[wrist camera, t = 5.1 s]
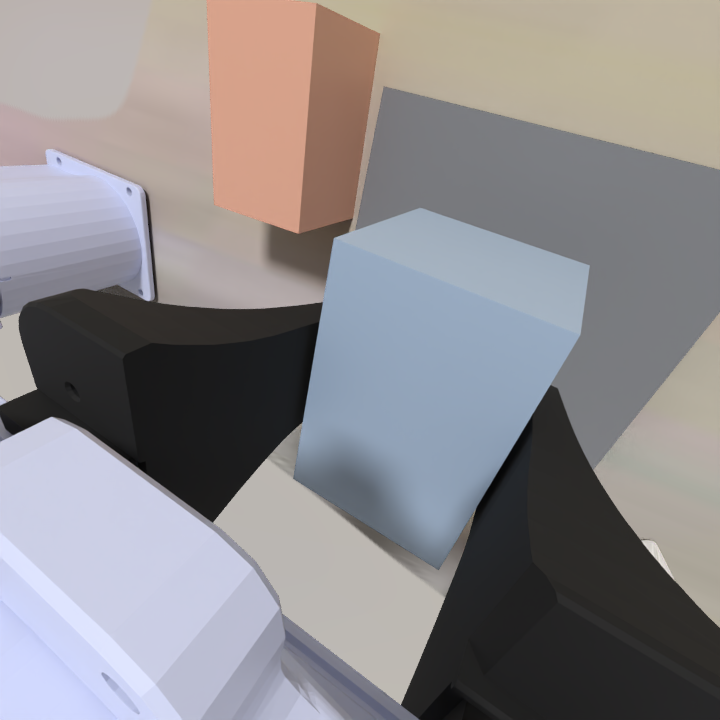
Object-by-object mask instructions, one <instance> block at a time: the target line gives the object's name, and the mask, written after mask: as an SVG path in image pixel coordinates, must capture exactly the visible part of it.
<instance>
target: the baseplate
mask: <svg viewBox="0 0 720 720" xmlns="http://www.w3.org/2000/svg"><path fill="white" fill-rule="evenodd" d="M418 208H423V209H426V210H428V211H431V212H434V213H437V214H440V215H443V216H446V217H449V218H452V219H455V220H458V221H461V222H464V223H467V224H470V225H472V226H475V227H478V228H481V229H484V230H487V231H490V232H493V233H496V234H499V235H502V236H505V237H508V238H511V239H514V240H516V241H519V242H522V243H525V244H528V245H531V246H534V247H537V248H540V249H543V250H546V251H549V252H552V253H555V254H558V255H561V256H563V257H566V258H569V259H572V260H575V261H578V262H581V263H584V264H587V265H590V267H589V275H588V282H587V290H586V297H585V305H584V312H583V320H582V327H581V334H580V336H579V338H578V340H577V341H576V343H575V345H574V346H573V348H572V350H571V351H570V353H569V355H568V356H567V358H566V360H565V361H564V363H563V365H562V366H561V368H560V370H559V371H558V373H557V375H556V376H555V378H554V380H553V381H552V383H551V385H552V386H554V387H556V388H558V390H559V393H560V396H561V398H562V401H563V404H564V407H565V409H566V412H567V415H568V418H569V420H570V423H571V425H572V428H573V430H574V433H575V435H576V437H577V439H578V442H579V444H580V446H581V448H582V450H583V452H584V454H585V456H586V458H587V460H588V462H589V464H590V465H591V467H592V469H594V468H595V467H596V466H597V464H598V463H599V462H600V461H601V459H602V458H603V457H604V456H605V454H606V453H607V452H608V451H609V449H610V448H611V447H612V446H613V444H614V443H615V442H616V441H617V439H618V438H619V437H620V436H621V435H622V433H623V432H624V431H625V430H626V428H627V427H628V426H629V425H630V423H631V422H632V421H633V420H634V418H635V417H636V416H637V415H638V413H639V412H640V411H641V410H642V408H643V407H644V406H645V405H646V403H647V402H648V401H649V400H650V398H651V397H652V396H653V395H654V393H655V392H656V391H657V390H658V388H659V387H660V386H661V385H662V383H663V382H664V381H665V380H666V378H667V377H668V376H669V375H670V373H671V372H672V371H673V370H674V368H675V367H676V366H677V365H678V363H679V362H680V361H681V360H682V358H683V357H684V356H685V355H686V353H687V352H688V351H689V350H690V348H691V347H692V346H693V345H694V344H695V342H696V341H697V340H698V339H699V337H700V336H701V335H702V334H703V332H704V331H705V330H706V329H707V327H708V326H709V325H710V324H711V322H712V321H713V320H714V319H715V317H716V316H717V315H718V314H719V312H720V170H718V169H714V168H710V167H706V166H702V165H698V164H694V163H690V162H686V161H682V160H678V159H674V158H670V157H666V156H662V155H658V154H654V153H650V152H646V151H642V150H637V149H633V148H629V147H625V146H621V145H617V144H613V143H609V142H605V141H601V140H597V139H593V138H589V137H585V136H581V135H577V134H573V133H569V132H565V131H561V130H557V129H553V128H549V127H545V126H541V125H537V124H533V123H529V122H525V121H521V120H517V119H513V118H509V117H505V116H501V115H497V114H493V113H489V112H485V111H480V110H476V109H472V108H468V107H464V106H460V105H456V104H452V103H448V102H444V101H440V100H436V99H432V98H428V97H424V96H420V95H416V94H412V93H408V92H404V91H400V90H396V89H392V88H388V87H384V88H383V93H382V98H381V103H380V109H379V114H378V119H377V124H376V129H375V134H374V139H373V144H372V149H371V154H370V159H369V164H368V169H367V174H366V179H365V184H364V189H363V195H362V200H361V205H360V210H359V215H358V220H357V225H356V230H358V229H361V228H364V227H367V226H370V225H372V224H375V223H378V222H381V221H384V220H387V219H390V218H392V217H395V216H398V215H401V214H404V213H407V212H410V211H412V210H415V209H418Z"/></svg>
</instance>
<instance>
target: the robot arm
mask: <svg viewBox="0 0 720 720" xmlns="http://www.w3.org/2000/svg"><path fill="white" fill-rule="evenodd" d="M46 159H47V163H48V165H23V166H0V318H2V317H6V316H9V315H13V314H16V313H20V312H21V313H20V316H19V331H20V336H21V340H22V343H23V347H24V350H25V353H26V356H27V359H28V362H29V365H30V368H31V371H32V375H33V377H34V381H35V384H36V387H37V390H34V391H32V392H30V393H27V394H25V395H23V396H20V397H18V398H16V399H13V400H12V401H9V402H7V401H6V400H5V399H3V398H2V397H1V396H0V720H720V628H719V627H718V626H717V625H716V624H715V623H714V622H713V621H712V620H711V619H710V618H709V617H708V616H707V615H706V614H705V613H704V612H703V611H702V610H701V609H700V608H699V607H698V606H697V605H696V604H695V602H694V601H693V600H692V599H691V598H690V597H689V596H688V595H687V594H686V593H685V591H684V590H683V589H682V588H681V587H680V586H679V585H678V584H677V583H676V582H675V581H674V579H673V578H672V577H671V576H670V575H669V574H668V573H667V572H666V570H665V569H664V568H663V567H662V566H661V565H660V563H659V562H658V561H657V560H656V559H655V557H654V556H653V555H652V554H651V553H650V552H649V550H648V549H647V548H646V546H645V545H644V544H643V543H642V541H641V540H640V539H639V537H638V536H637V535H636V534H635V532H634V531H633V530H632V528H631V527H630V526H629V525H628V523H627V522H626V521H625V519H624V518H623V516H622V515H621V514H620V512H619V511H618V509H617V508H616V506H615V505H614V503H613V502H612V500H611V499H610V497H609V496H608V494H607V493H606V491H605V489H604V488H603V486H602V485H601V483H600V481H599V480H598V478H597V476H596V475H595V473H594V471H593V469H592V467H591V465H590V464H589V462H588V460H587V458H586V456H585V454H584V452H583V450H582V448H581V446H580V444H579V442H578V439H577V437H576V435H575V433H574V430H573V428H572V425H571V423H570V420H569V418H568V415H567V412H566V409H565V407H564V404H563V401H562V398H561V396H560V393H559V390H558V388H556V387H554V386H552V385H550V386H549V388H548V390H547V391H546V393H545V395H544V396H543V398H542V400H541V401H540V403H539V404H538V406H537V408H536V409H535V411H534V413H533V414H532V416H531V418H530V419H529V421H528V423H527V424H526V426H525V428H524V429H523V431H522V433H521V434H520V436H519V438H518V439H517V441H516V443H515V444H514V446H513V448H512V449H511V451H510V453H509V454H508V456H507V458H506V459H505V461H504V463H503V464H502V466H501V468H500V469H499V471H498V472H497V474H496V476H495V477H494V479H493V481H492V482H491V484H490V486H489V487H488V489H487V491H486V492H485V494H484V496H483V497H482V499H481V501H480V502H479V504H478V506H477V508H476V512H475V515H474V519H473V523H472V526H471V530H470V534H469V537H468V540H467V543H466V546H465V549H464V552H463V555H462V557H461V560H460V562H459V565H458V567H457V570H456V573H455V575H454V578H453V580H452V583H451V585H450V588H449V590H448V593H447V595H446V598H445V600H444V603H443V605H442V608H441V610H440V613H439V615H438V617H437V620H436V622H435V625H434V627H433V630H432V632H431V634H430V637H429V639H428V642H427V644H426V647H425V649H424V652H423V654H422V656H421V659H420V661H419V664H418V666H417V668H416V671H415V673H414V676H413V678H412V680H411V683H410V685H409V687H408V690H407V692H406V694H405V697H404V699H403V701H402V704H401V705H400V704H398V703H397V702H396V701H395V700H393V699H392V698H391V697H389V696H388V695H387V694H386V693H384V692H383V691H382V690H380V689H379V688H378V687H376V686H375V685H374V684H372V683H371V682H370V681H369V680H367V679H366V678H365V677H364V676H362V675H361V674H360V673H358V672H357V671H356V670H354V669H353V668H352V667H351V666H349V665H348V664H346V663H345V662H344V661H343V660H342V659H340V658H339V657H338V656H336V655H335V654H334V653H332V652H331V651H330V650H329V649H327V648H326V647H325V646H323V645H322V644H321V643H319V642H318V641H317V640H316V639H314V638H313V637H312V636H310V635H309V634H308V633H307V632H305V631H304V630H303V629H301V628H300V627H299V626H297V625H296V624H295V623H293V622H292V621H291V620H290V619H288V618H287V617H286V616H284V615H283V614H282V611H281V605H280V600H279V596H278V595H277V593H276V591H275V590H274V588H273V587H272V585H271V584H270V582H269V581H268V579H267V578H266V576H265V575H264V573H263V572H262V570H261V569H260V567H259V566H258V564H257V563H256V561H255V560H254V559H253V558H251V556H250V555H248V554H247V553H246V552H245V551H244V550H243V549H242V548H241V547H240V546H239V545H238V544H237V543H236V542H234V540H232V539H231V538H230V537H229V536H228V535H227V534H226V533H225V532H224V531H223V530H222V529H220V528H219V527H218V526H216V525H215V524H213V522H214V520H215V519H216V518H217V517H218V515H219V514H220V513H221V512H222V510H223V509H224V508H225V507H226V506H227V504H228V503H229V502H230V501H231V499H232V498H233V497H234V496H235V494H236V493H237V492H238V491H239V490H240V488H241V487H242V486H243V485H244V484H245V483H246V481H247V480H248V479H249V478H250V477H251V475H252V474H253V473H254V472H255V471H256V470H257V469H258V467H259V466H260V465H261V464H262V463H263V462H264V461H265V459H266V458H267V457H268V456H269V455H270V454H271V453H272V452H273V451H274V449H275V448H276V447H277V446H278V445H279V444H280V443H281V442H282V441H283V440H284V439H285V438H286V437H287V436H288V435H289V434H290V433H291V432H292V431H293V430H294V429H295V428H296V427H298V426H299V425H300V424H301V423H302V422H303V418H304V412H305V406H306V400H307V394H308V388H309V382H310V377H311V371H312V365H313V359H314V353H315V347H316V341H317V335H318V329H319V323H320V317H321V311H322V306H323V302H322V303H314V304H307V305H299V306H288V307H278V308H266V309H215V308H199V307H186V306H177V305H169V304H162V303H155V302H148V301H151V300H154V298H155V292H154V282H153V271H152V260H151V249H150V239H149V228H148V217H147V207H146V196H145V192H144V190H143V188H142V187H141V186H139V185H137V184H135V183H132V182H130V181H127V180H125V179H123V178H120V177H118V176H116V175H113V174H111V173H109V172H106V171H104V170H101V169H99V168H97V167H94V166H92V165H90V164H87V163H85V162H83V161H80V160H78V159H75V158H73V157H71V156H68V155H66V154H64V153H61V152H59V151H57V150H54V149H47V150H46ZM114 285H119V286H120V287H122V288H124V289H126V290H128V291H130V292H131V293H133V294H135V295H137V296H139V297H141V298H143V299H144V300H146V301H142V300H137V299H131V298H127V297H122V296H117V295H112V294H107V293H103V292H98V291H97V290H100V289H104V288H107V287H111V286H114ZM2 327H3V326H2V324H1V321H0V329H1V328H2Z"/></svg>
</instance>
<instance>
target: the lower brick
mask: <svg viewBox="0 0 720 720" xmlns="http://www.w3.org/2000/svg"><path fill="white" fill-rule="evenodd" d="M589 267H590V265H587V264H584V263H581V262H578V261H575V260H572V259H569V258H566V257H563V256H561V255H558V254H555V253H552V252H549V251H546V250H543V249H540V248H537V247H534V246H531V245H528V244H525V243H522V242H519V241H516V240H514V239H511V238H508V237H505V236H502V235H499V234H496V233H493V232H490V231H487V230H484V229H481V228H478V227H475V226H472V225H470V224H467V223H464V222H461V221H458V220H455V219H452V218H449V217H446V216H443V215H440V214H437V213H434V212H431V211H428V210H426V209H423V208H418V209H415V210H412V211H410V212H407V213H404V214H401V215H398V216H395V217H392V218H390V219H387V220H384V221H381V222H378V223H375V224H372V225H370V226H367V227H364V228H361V229H358V230H355V231H352V232H350V233H347V234H344V235H341V236H338V237H335V238H334V240H333V246H332V252H331V258H330V264H329V270H328V276H327V282H326V288H325V294H324V300H323V306H322V311H321V317H320V323H319V329H318V335H317V341H316V347H315V353H314V359H313V365H312V371H311V377H310V382H309V388H308V394H307V400H306V406H305V412H304V418H303V424H302V430H301V436H300V442H299V448H298V454H297V459H296V465H295V471H294V477H293V479H295V480H296V481H298V482H299V483H301V484H302V485H304V486H306V487H307V488H309V489H310V490H312V491H314V492H315V493H317V494H318V495H320V496H322V497H323V498H325V499H326V500H328V501H329V502H331V503H333V504H334V505H336V506H337V507H339V508H341V509H342V510H344V511H345V512H347V513H349V514H350V515H352V516H353V517H355V518H357V519H358V520H360V521H361V522H363V523H364V524H366V525H368V526H369V527H371V528H372V529H374V530H376V531H377V532H379V533H380V534H382V535H384V536H385V537H387V538H388V539H390V540H392V541H393V542H395V543H396V544H398V545H399V546H401V547H403V548H404V549H406V550H407V551H409V552H411V553H412V554H414V555H415V556H417V557H419V558H420V559H422V560H423V561H425V562H426V563H428V564H430V565H431V566H433V567H434V568H436V569H438V570H439V569H440V567H441V565H442V564H443V562H444V560H445V559H446V557H447V555H448V554H449V552H450V550H451V549H452V547H453V545H454V544H455V542H456V540H457V539H458V537H459V536H460V534H461V532H462V531H463V529H464V527H465V526H466V524H467V522H468V521H469V519H470V517H471V516H472V514H473V512H474V511H475V509H476V507H477V506H478V504H479V502H480V501H481V499H482V497H483V496H484V494H485V492H486V491H487V489H488V487H489V486H490V484H491V482H492V481H493V479H494V477H495V476H496V474H497V472H498V471H499V469H500V468H501V466H502V464H503V463H504V461H505V459H506V458H507V456H508V454H509V453H510V451H511V449H512V448H513V446H514V444H515V443H516V441H517V439H518V438H519V436H520V434H521V433H522V431H523V429H524V428H525V426H526V424H527V423H528V421H529V419H530V418H531V416H532V414H533V413H534V411H535V409H536V408H537V406H538V404H539V403H540V401H541V400H542V398H543V396H544V395H545V393H546V391H547V390H548V388H549V386H550V385H551V383H552V381H553V380H554V378H555V376H556V375H557V373H558V371H559V370H560V368H561V366H562V365H563V363H564V361H565V360H566V358H567V356H568V355H569V353H570V351H571V350H572V348H573V346H574V345H575V343H576V341H577V340H578V338H579V336H580V334H581V327H582V320H583V312H584V305H585V297H586V290H587V282H588V275H589Z"/></svg>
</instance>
